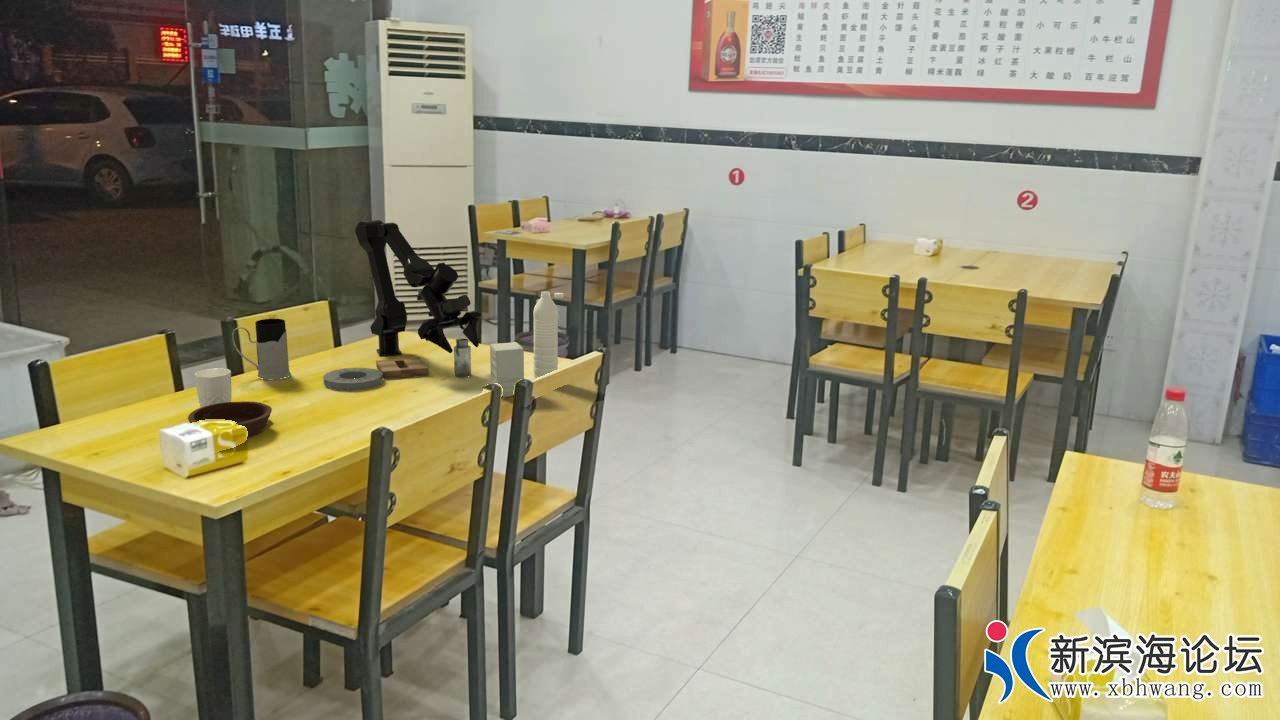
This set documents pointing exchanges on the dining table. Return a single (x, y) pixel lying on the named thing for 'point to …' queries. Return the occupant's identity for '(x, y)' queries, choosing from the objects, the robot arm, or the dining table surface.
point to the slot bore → (395, 371)
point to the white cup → (213, 386)
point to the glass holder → (270, 348)
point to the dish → (236, 414)
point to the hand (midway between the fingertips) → (464, 349)
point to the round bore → (346, 381)
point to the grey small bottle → (462, 358)
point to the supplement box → (506, 365)
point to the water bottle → (545, 334)
